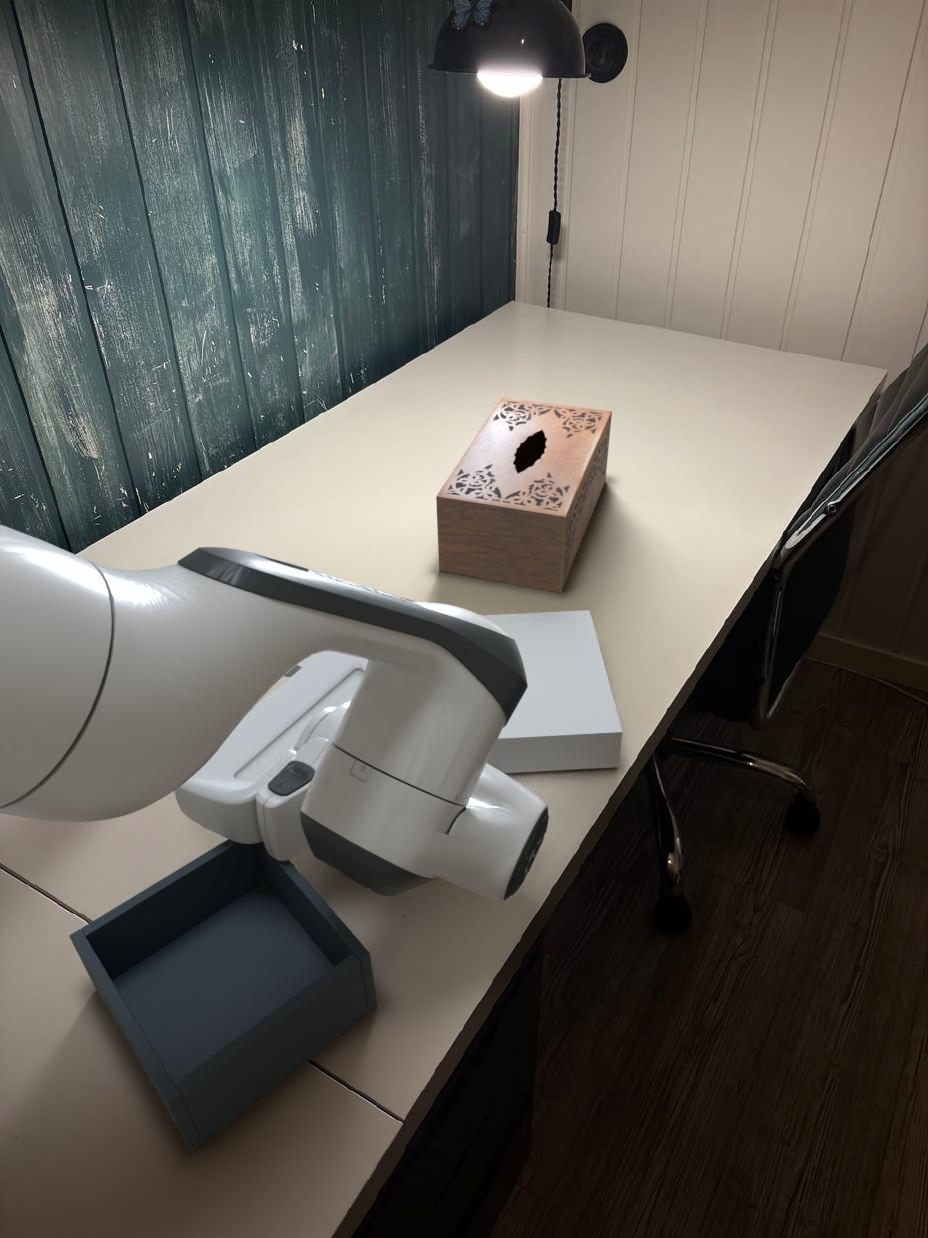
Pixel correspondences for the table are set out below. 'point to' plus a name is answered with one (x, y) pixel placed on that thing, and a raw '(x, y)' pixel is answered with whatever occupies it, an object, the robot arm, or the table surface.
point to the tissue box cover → (524, 494)
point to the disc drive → (558, 697)
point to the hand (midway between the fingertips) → (222, 692)
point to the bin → (226, 981)
